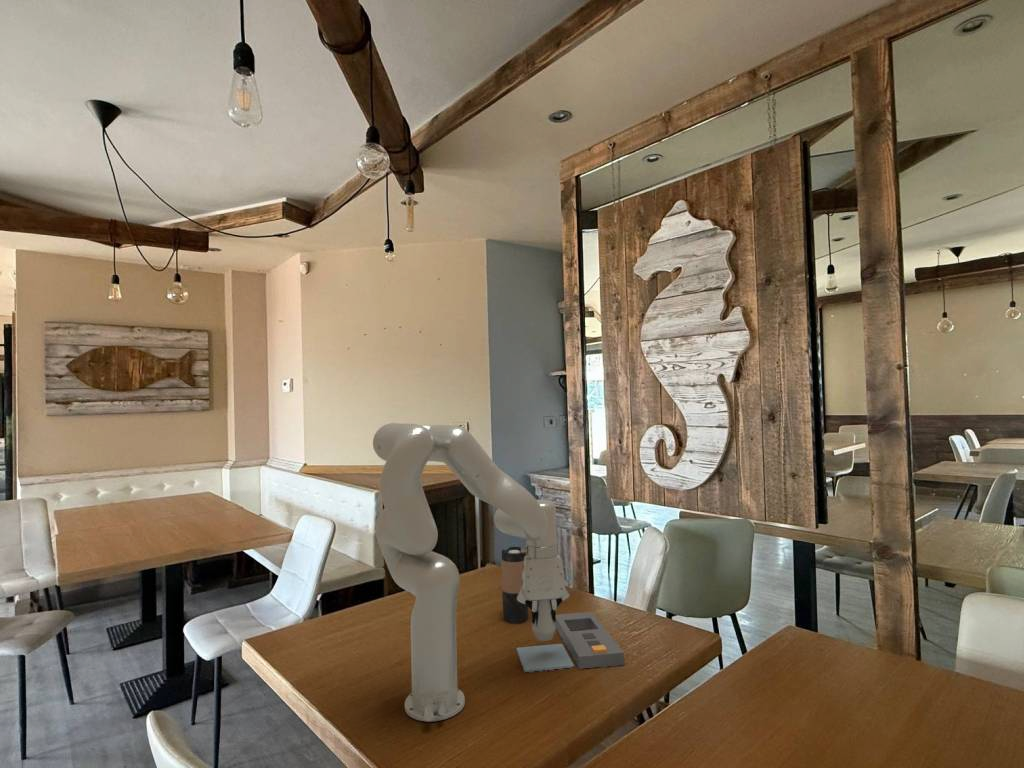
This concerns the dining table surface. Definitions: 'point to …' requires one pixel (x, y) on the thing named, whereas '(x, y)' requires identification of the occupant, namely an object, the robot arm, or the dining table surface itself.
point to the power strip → (588, 640)
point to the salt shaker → (544, 622)
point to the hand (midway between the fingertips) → (543, 624)
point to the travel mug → (513, 585)
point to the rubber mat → (544, 657)
